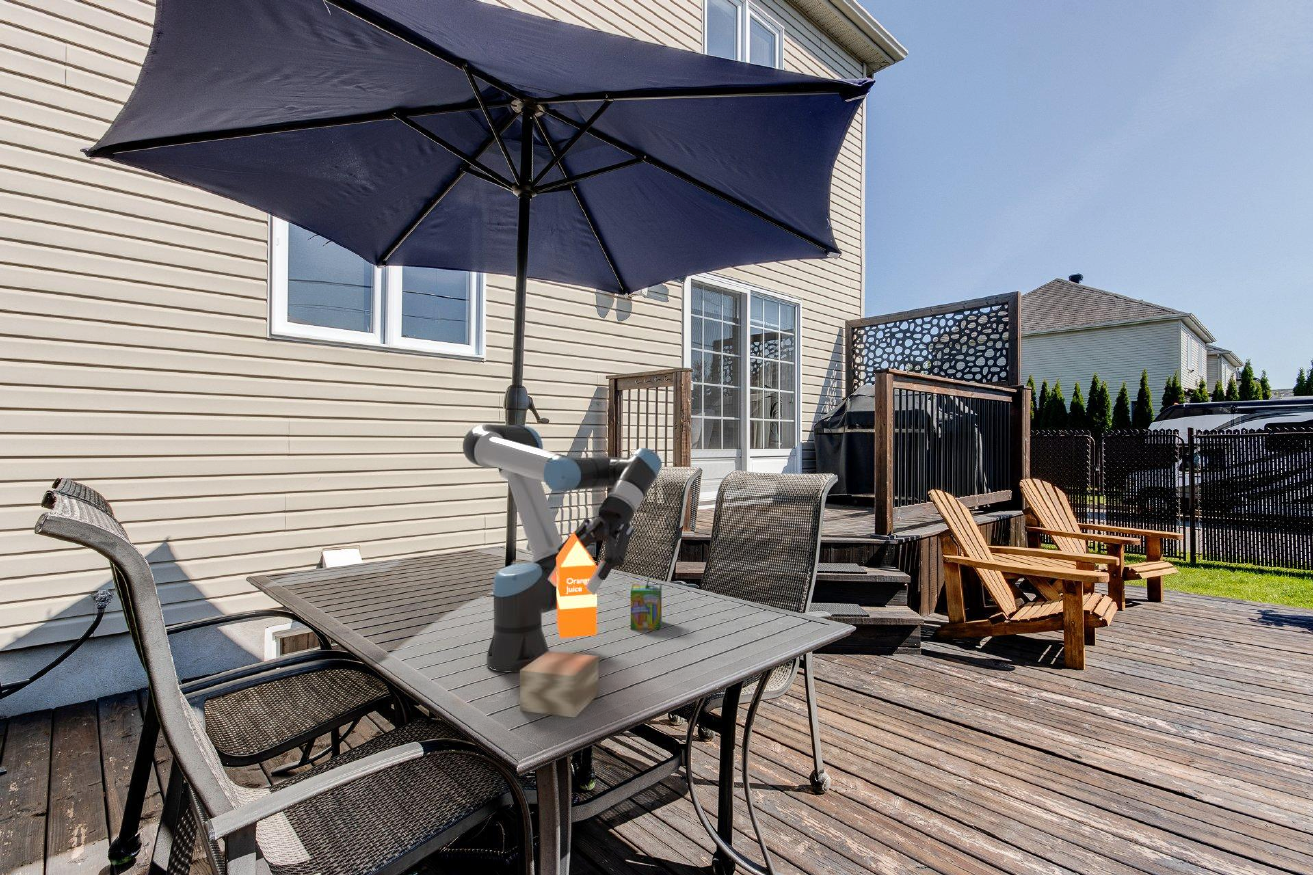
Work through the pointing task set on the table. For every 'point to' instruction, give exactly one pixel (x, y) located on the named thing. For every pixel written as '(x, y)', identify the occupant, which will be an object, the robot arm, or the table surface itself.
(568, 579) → the orange juice
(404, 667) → the table surface
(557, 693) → the birch block
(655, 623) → the chalk box
